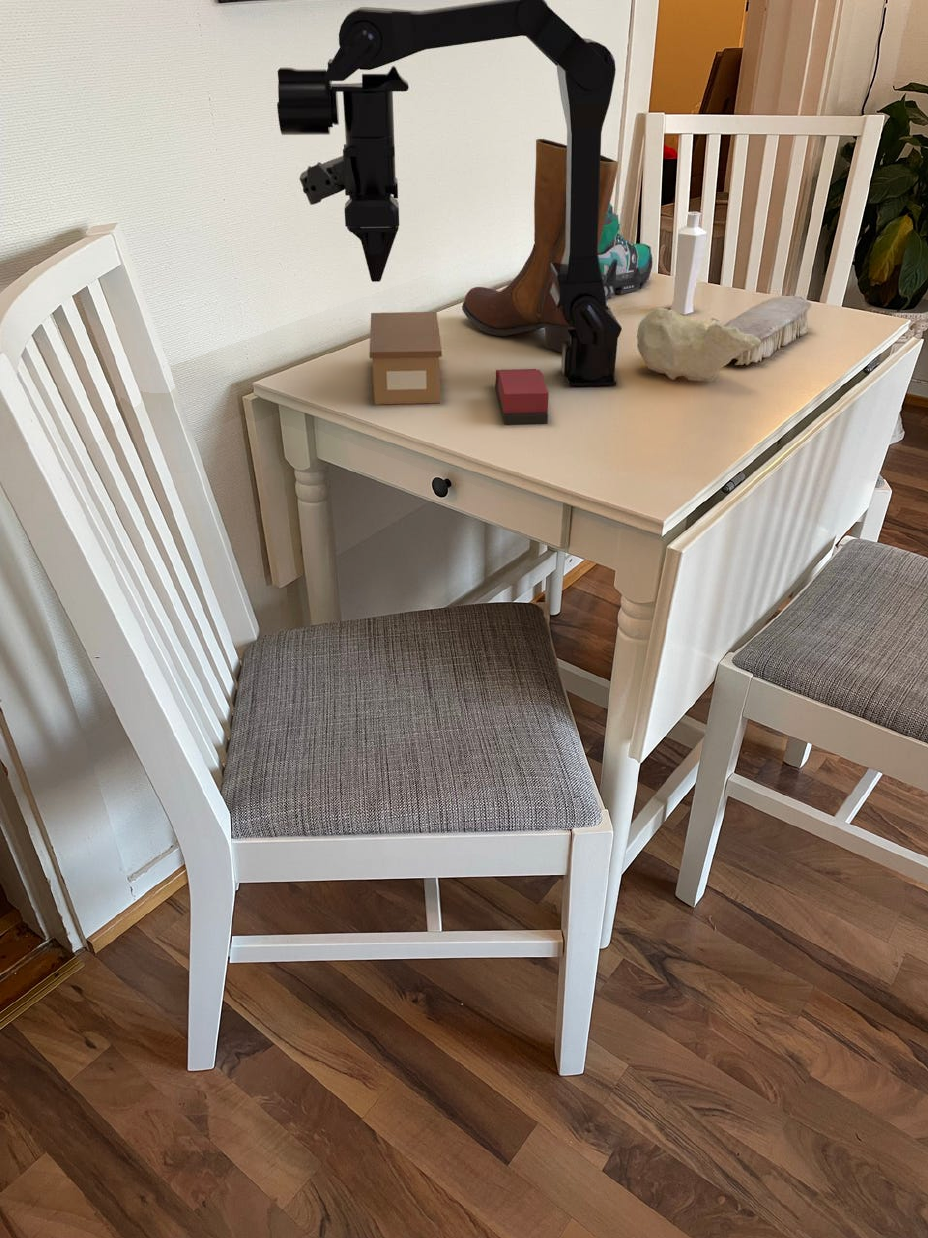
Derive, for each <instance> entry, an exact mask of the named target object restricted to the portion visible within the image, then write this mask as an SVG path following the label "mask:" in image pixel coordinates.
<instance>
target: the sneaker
mask: <svg viewBox="0 0 928 1238" xmlns="http://www.w3.org/2000/svg"><path fill="white" fill-rule="evenodd" d="M620 225H621V223H620V220H619V215H618V214H616V213H614V209H613V205H612V204H611V203H610V204H609V208H608V212H607V216H606V219H605V223H604V227H603V231H602V235H601V239H600V244H599V249H598V258H599V262H600V267H601V272H602V277H603V282H604V289H605V297H606V300H607V299H609V298H611V297H614V296H615V293H617V294H619V295H622V294H628V293H632V292H636V291H638V290H639V288H644V286H645V285H646V284H647V282H648V280H649V278H650V275H651V272H652V269H653V255H652V251H651V250H652V248H651V246H650V245H648V244H645V243H632V242H630V240H629V241H628V240H627V239H625V238H624V237H623V236H622V235H621V234H620Z"/></svg>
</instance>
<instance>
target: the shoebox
mask: <svg viewBox="0 0 928 1238" xmlns="http://www.w3.org/2000/svg"><path fill="white" fill-rule="evenodd" d="M369 332H370V333H369V359H371V360H372V361H371V362H372V378H373V379H372V381H373V399H374V401H373V402H374V405H415V404H418V405H419V404H440V403H441V391H440V390H441V384H440V383H441V381H440V380H441V378H440V376H441V375H440V374H441V373H440V358H442V357H443V351H442V343H441V335H440V328H439V321H438V314H437V311H411V312H410V311H409V312H406V311H404V312H402V311H401V312H399V311H398V312H371V313H370V331H369Z"/></svg>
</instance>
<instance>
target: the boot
mask: <svg viewBox="0 0 928 1238" xmlns="http://www.w3.org/2000/svg"><path fill="white" fill-rule="evenodd" d="M618 169H619V161H617V160H614V159H612V158H610V157H607V156H605V155H603V154H601V161H600V192H599V222H598V249H599V244H600V239H601V235H602V231H603V227H604V223H605V219H606V216H607V212H608V208H609V204H611V200H612V196H613V192H614V187H615V183H616V179H617V174H618ZM534 173H535V174H534V176H535V177H534V195H533V196H534V197H533V200H534V201H533V216H534V217H533V218H534V219H533V220H534V221H533V222H534V223H533V225H534V228H533V229H534V230H533V231H534V233H533V237H534V239H533V242H534V243H533V246H532V249H531V252H530V254H529V256H528V257H527V259H526V261H525V263H524V264H523V266H522V268H521V270H520V271H519V273H518V274H517V275H516V277H515V278H513V280H512V281H511V282H510V283H508V285H507V286H505V287H504V288H503V289H502V290H500V291H499V290H497V289H493V288H489V287H486V286H485V287H484V286H475V287H472V288H470V289H469V290H468V291H467V293H466V294H465V297H464V300H463V302H462V306H461V308H462V312H463V315H465V317H466V318H467V319H468V321H469V322H470V323H471V324H473V326H475V327H476V328H478V329H479V330H480V331H483V332H484V333H486V334H489V335H492V336H497V337H498V336H499V337H507V336H513V335H519V334H523V333H527V332H528V333H529V332H532V331H536V330H540V329H544V347H545V348H546V349H549V350H551V351H554V352H556V353H560V354H562V350H563V342H564V341H567V336H568V330H569V329H574V327H571V326H570V325H569V324H568V323H567V322H566V321H565V319H564V317H563V315H562V313H561V311H560V309H559V308H557V306H556V304H555V302H554V300H553V298H552V296H551V294H550V290H551V288H552V283H553V276H552V270H551V263H560V264H561V262H562V258H563V255H564V252H565V247H566V180H567V144H564V143H562V142H561V143H560V142H556V141H553V140H549V139H545V138H537V139H535V172H534Z"/></svg>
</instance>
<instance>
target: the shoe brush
mask: <svg viewBox="0 0 928 1238" xmlns="http://www.w3.org/2000/svg"><path fill="white" fill-rule="evenodd" d="M812 305H813V304H812V303H811V302H810V301H809V299H806V298H803V297H802V296H796V295H781V296H774V297H771V298H769V299H767V300H763V301H761V302H760V303H758V304H756V305H754V306H752V307H751V308H749V309H748V310H746V311H744V312H742V313H741V314H739V315H737V316H736V317H734V318H732V319H730V320H729V321H727V322H726V323H725V324H724V325H723V326H725V327H729V328H733V327H737V328H738V330H739V331H740V332H741V333H744V334H751V335H753V336H755V337H757V338H759V339H760V340H761V343H760V344H759V345H758V346H757V347H755V348H752V349H750V350H745V351H743V352H741V353H740V354H739V355H738V356H737V357H735V358H733V359H734V360H737V361H736V362H735V363H734V365H735V366H743V365H744V364H745V366H748V365H750V364H751V362H752V363H758V361H760V362H762V358H763V359H767V358H769V357H771V356H772V355H773V354H774V352H776V350H777V349H778V350H780V349H781V346H782V347H786V345H788V344H790V342H794V341H795V340H796V339H797V338H798V339H799V336H800V337H802V336H803V335H805V334H807V333H808V332H810V330H809V318H808V317H809V316H808V315H809V314H808V311H809V310H810V309H811V308H812ZM731 362H732V360H731V361H730V362H729V363H731Z"/></svg>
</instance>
